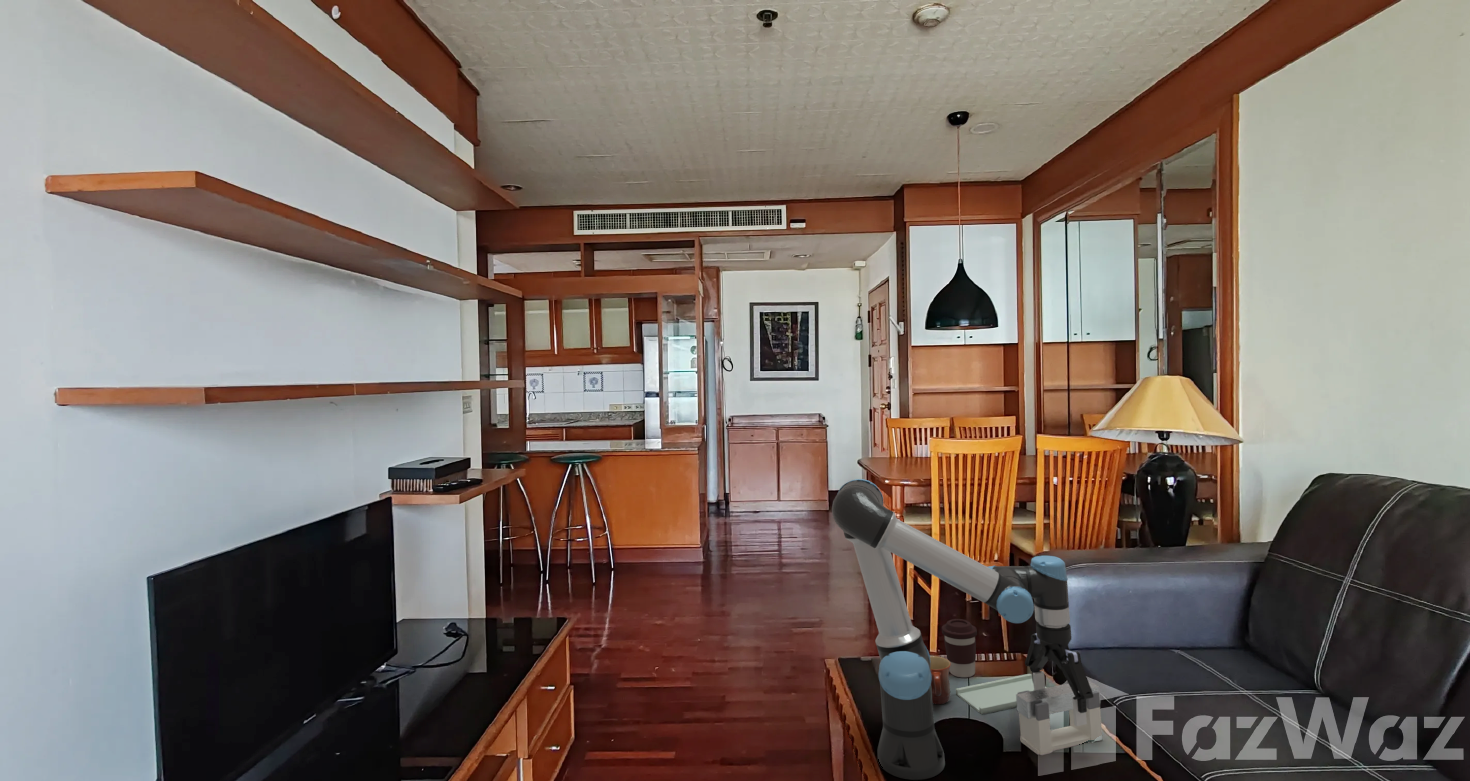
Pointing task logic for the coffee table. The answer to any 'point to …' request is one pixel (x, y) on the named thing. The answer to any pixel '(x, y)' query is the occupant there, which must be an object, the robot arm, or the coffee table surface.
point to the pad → (996, 693)
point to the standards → (1047, 740)
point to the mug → (940, 680)
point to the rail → (1048, 699)
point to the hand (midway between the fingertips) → (1059, 710)
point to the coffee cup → (960, 646)
